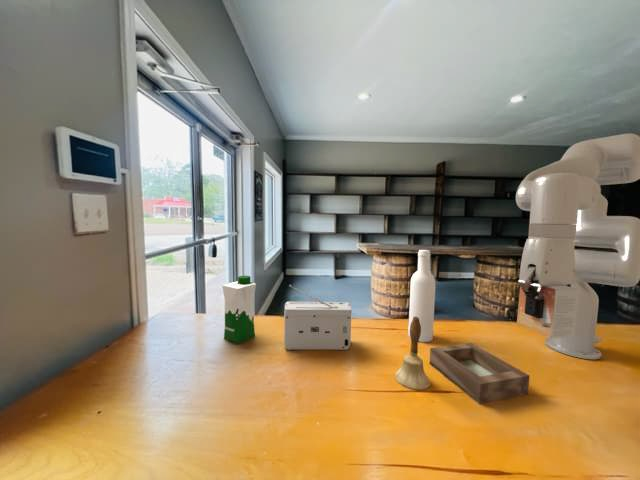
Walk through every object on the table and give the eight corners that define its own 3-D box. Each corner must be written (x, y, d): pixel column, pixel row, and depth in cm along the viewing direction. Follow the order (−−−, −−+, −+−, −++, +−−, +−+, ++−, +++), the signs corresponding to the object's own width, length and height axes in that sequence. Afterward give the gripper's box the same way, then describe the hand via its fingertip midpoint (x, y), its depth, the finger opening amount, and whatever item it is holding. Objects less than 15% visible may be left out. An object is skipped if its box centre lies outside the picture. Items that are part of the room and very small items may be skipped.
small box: (516, 323, 59) (519, 279, 58) (537, 322, 60) (541, 279, 59) (551, 339, 51) (555, 288, 51) (575, 338, 52) (579, 288, 51)
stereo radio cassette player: (348, 339, 84) (350, 280, 83) (352, 352, 76) (354, 286, 74) (285, 339, 83) (285, 279, 82) (282, 352, 75) (282, 286, 74)
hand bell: (428, 373, 66) (431, 313, 65) (431, 393, 58) (435, 326, 57) (395, 367, 68) (397, 309, 67) (394, 385, 60) (396, 320, 59)
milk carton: (258, 335, 86) (258, 277, 84) (237, 346, 78) (237, 282, 77) (241, 329, 90) (240, 274, 89) (219, 339, 83) (218, 278, 81)
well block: (470, 357, 74) (471, 342, 73) (528, 394, 58) (529, 375, 58) (429, 363, 70) (430, 348, 70) (479, 404, 55) (480, 384, 54)
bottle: (435, 343, 82) (440, 252, 80) (409, 341, 84) (413, 251, 81) (429, 333, 90) (434, 249, 88) (406, 331, 91) (410, 248, 89)
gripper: (558, 232, 60) (552, 306, 61) (503, 232, 55) (498, 312, 57) (600, 233, 53) (592, 317, 54) (542, 233, 48) (535, 325, 49)
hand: (544, 314), depth 55 cm, fingers closed on small box, 6 cm apart
